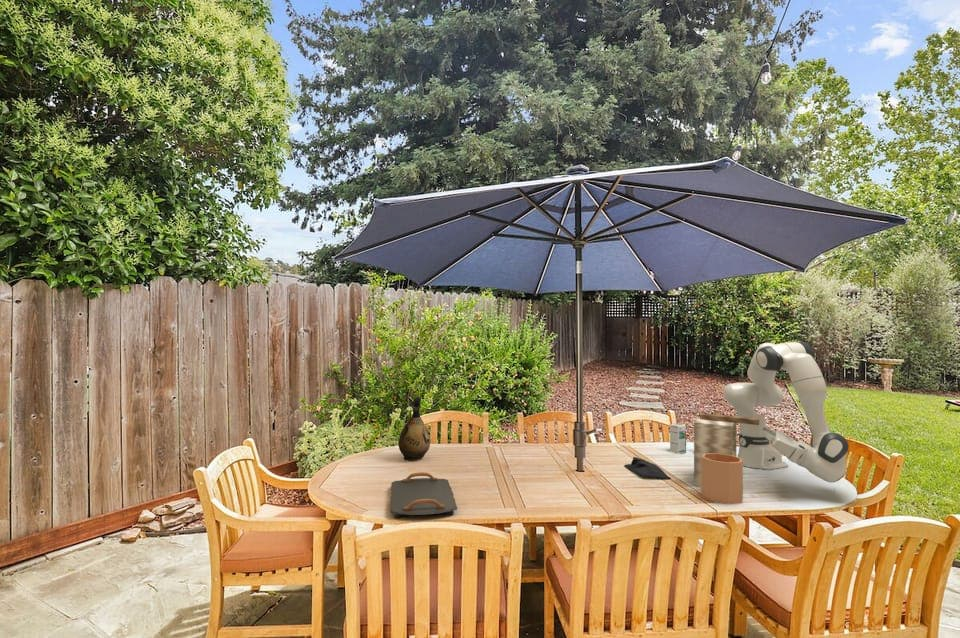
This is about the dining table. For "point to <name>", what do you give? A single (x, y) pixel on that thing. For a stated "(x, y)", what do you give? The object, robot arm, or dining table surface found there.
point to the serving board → (421, 496)
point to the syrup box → (678, 438)
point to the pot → (722, 478)
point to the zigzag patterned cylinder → (712, 441)
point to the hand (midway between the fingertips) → (762, 430)
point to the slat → (729, 419)
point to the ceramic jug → (414, 435)
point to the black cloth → (646, 469)
